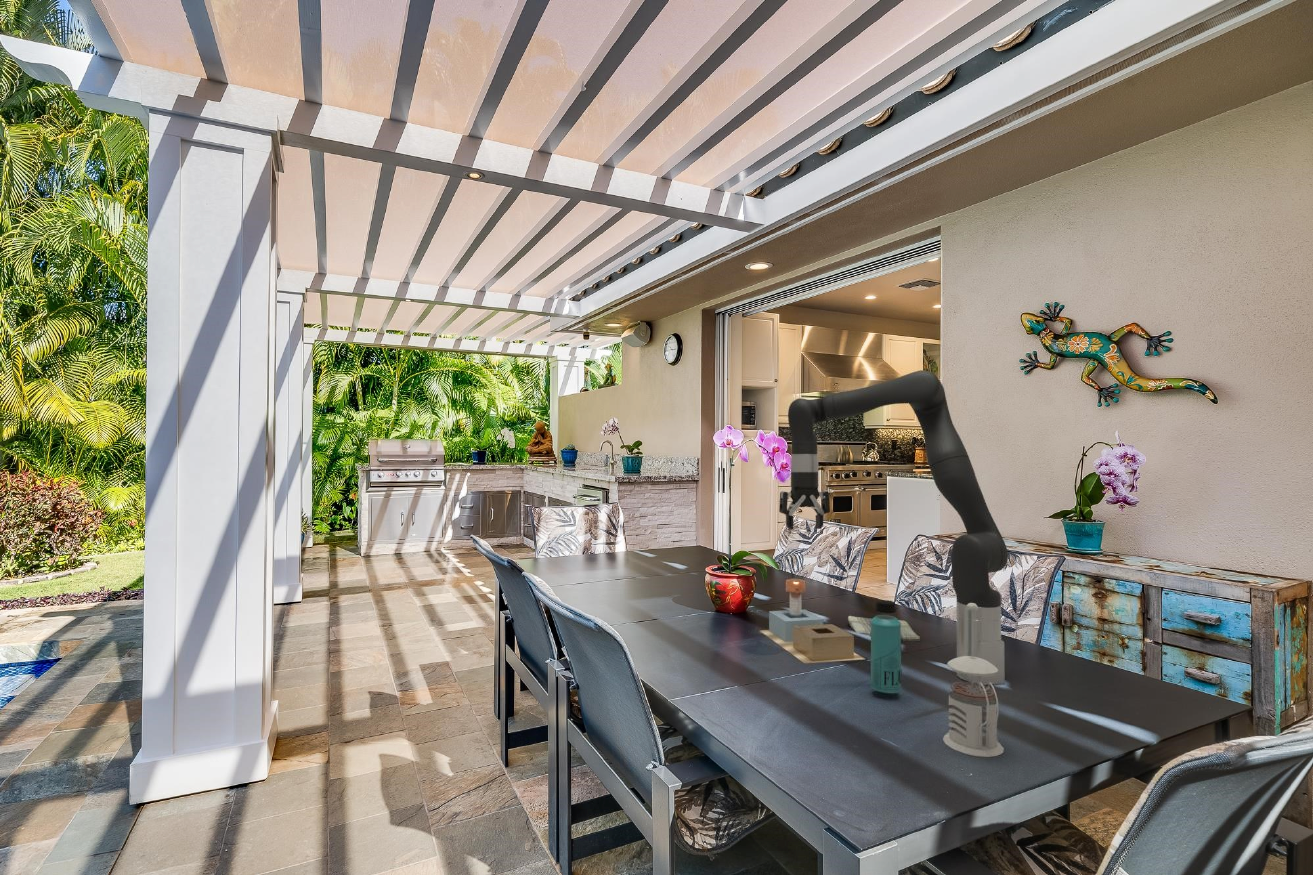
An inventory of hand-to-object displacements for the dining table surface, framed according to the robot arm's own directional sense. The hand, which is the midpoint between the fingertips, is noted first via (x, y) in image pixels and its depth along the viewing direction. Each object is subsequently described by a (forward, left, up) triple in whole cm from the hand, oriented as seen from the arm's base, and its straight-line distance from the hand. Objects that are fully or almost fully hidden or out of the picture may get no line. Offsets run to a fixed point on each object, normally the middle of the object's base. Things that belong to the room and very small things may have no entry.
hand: (804, 528), depth 179 cm
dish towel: (+4, -26, -32) cm, 41 cm away
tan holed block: (-16, +3, -29) cm, 33 cm away
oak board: (-8, +3, -31) cm, 32 cm away
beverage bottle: (-41, +1, -31) cm, 51 cm away
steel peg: (0, +3, -29) cm, 29 cm away
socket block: (0, +3, -29) cm, 29 cm away
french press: (-66, -1, -31) cm, 73 cm away
